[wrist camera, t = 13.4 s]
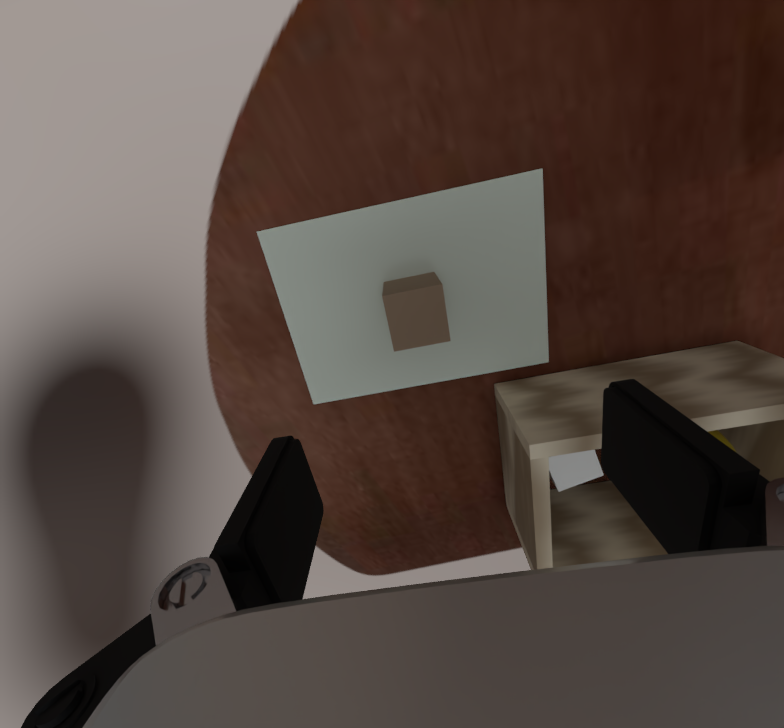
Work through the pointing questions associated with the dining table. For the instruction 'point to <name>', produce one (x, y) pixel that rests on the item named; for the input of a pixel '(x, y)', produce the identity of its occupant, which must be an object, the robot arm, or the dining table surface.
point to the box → (584, 432)
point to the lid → (416, 288)
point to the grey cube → (574, 469)
